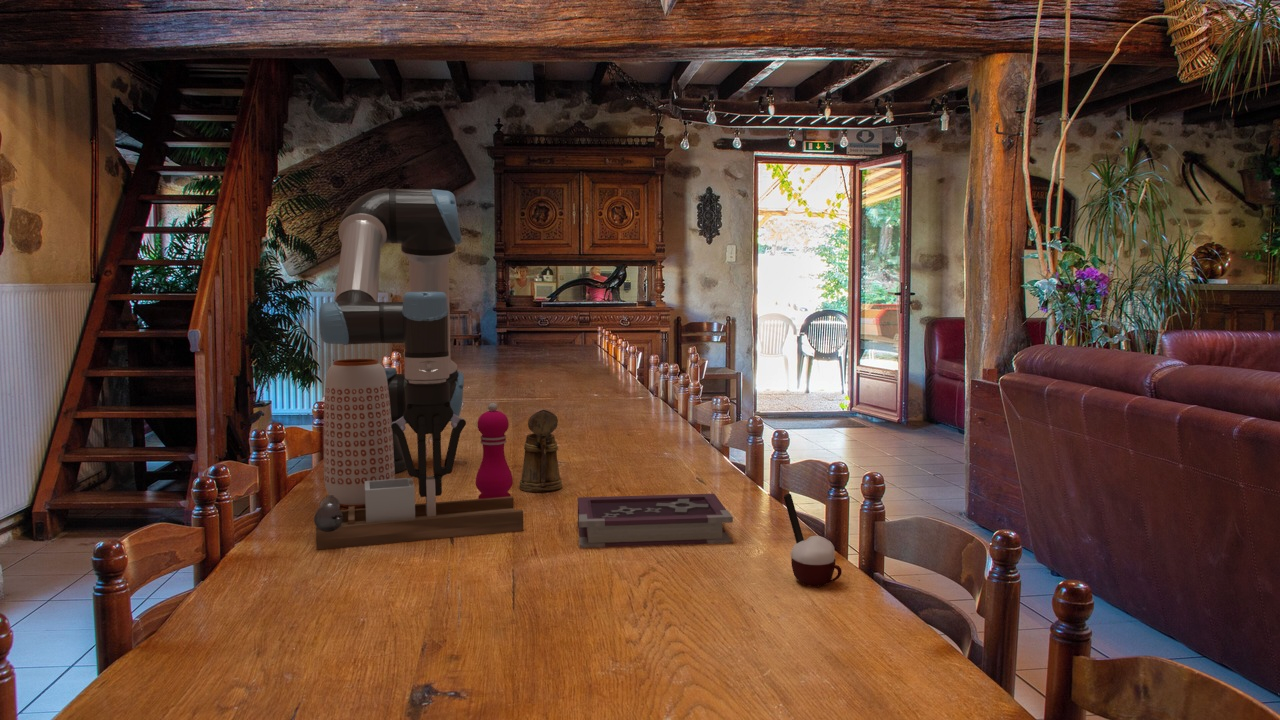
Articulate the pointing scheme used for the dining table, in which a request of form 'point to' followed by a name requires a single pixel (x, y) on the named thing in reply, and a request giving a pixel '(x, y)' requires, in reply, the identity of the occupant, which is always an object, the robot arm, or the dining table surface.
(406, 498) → the box
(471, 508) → the bay
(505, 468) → the pepper mill
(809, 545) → the cocoa
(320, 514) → the dark grey rounded lump
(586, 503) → the book
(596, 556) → the dining table surface
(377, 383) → the planter
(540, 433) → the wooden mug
